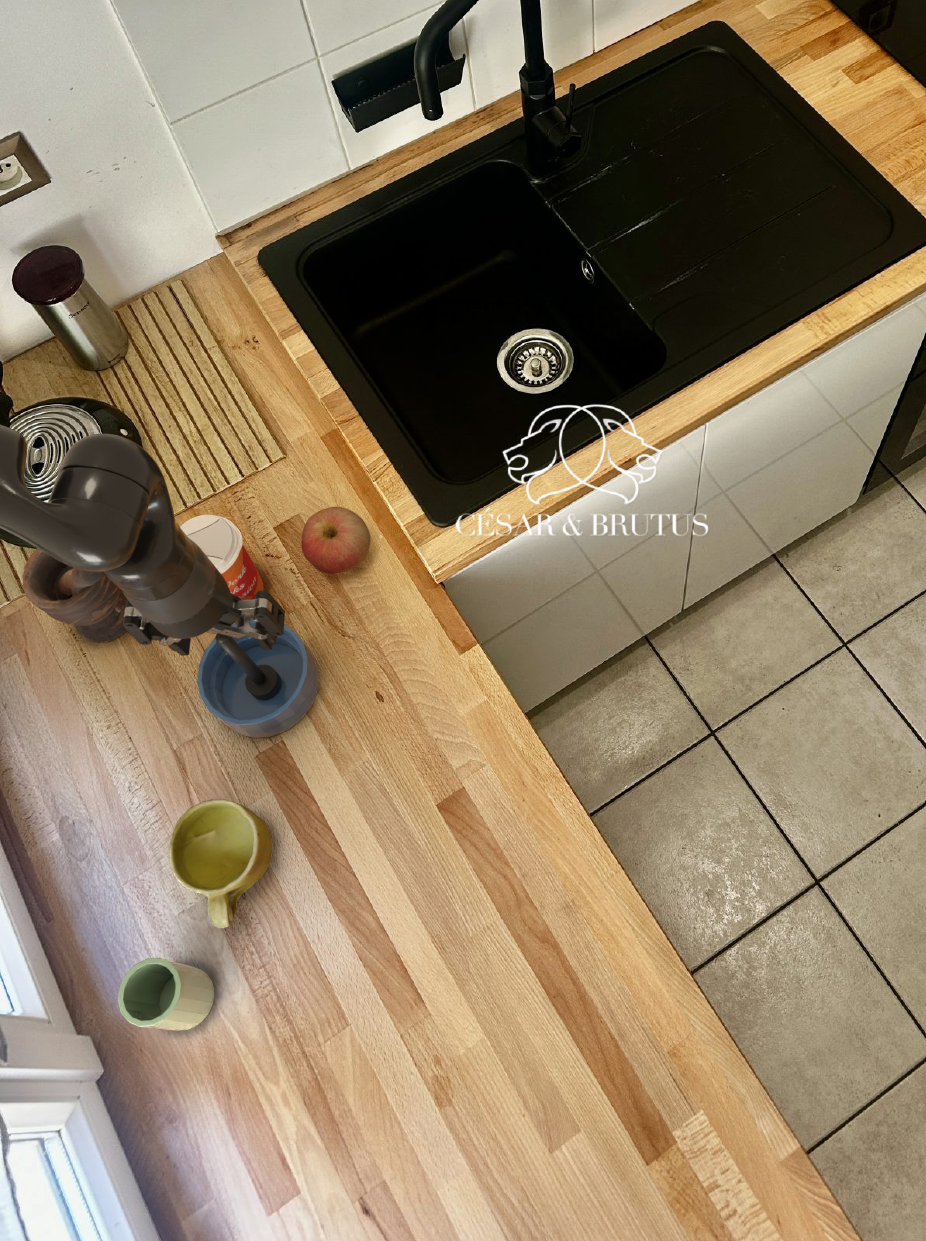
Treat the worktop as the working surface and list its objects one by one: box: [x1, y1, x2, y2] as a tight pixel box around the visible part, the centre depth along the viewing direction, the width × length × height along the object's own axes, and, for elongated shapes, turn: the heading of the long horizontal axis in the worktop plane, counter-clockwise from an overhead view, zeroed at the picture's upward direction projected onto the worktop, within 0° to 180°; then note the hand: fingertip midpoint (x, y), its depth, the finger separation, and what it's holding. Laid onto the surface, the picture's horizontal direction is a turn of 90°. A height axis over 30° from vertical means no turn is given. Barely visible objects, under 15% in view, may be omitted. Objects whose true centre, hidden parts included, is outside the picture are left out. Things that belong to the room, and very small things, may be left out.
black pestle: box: [214, 633, 282, 700], centre depth 123 cm, size 4×4×17 cm
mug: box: [167, 798, 273, 929], centre depth 118 cm, size 12×10×10 cm
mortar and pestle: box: [21, 548, 128, 643], centre depth 127 cm, size 12×9×20 cm
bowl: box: [196, 618, 320, 739], centre depth 128 cm, size 12×12×6 cm
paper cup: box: [180, 514, 264, 600], centre depth 130 cm, size 8×8×14 cm
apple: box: [301, 506, 371, 575], centre depth 135 cm, size 8×8×8 cm
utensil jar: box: [117, 957, 215, 1032], centre depth 111 cm, size 6×6×10 cm
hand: (227, 643), depth 118 cm, fingers open, 8 cm apart
